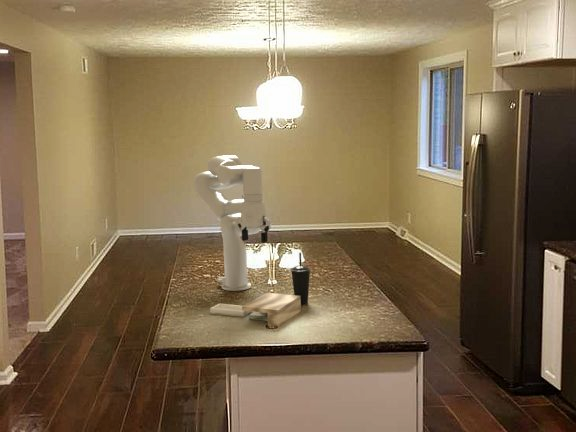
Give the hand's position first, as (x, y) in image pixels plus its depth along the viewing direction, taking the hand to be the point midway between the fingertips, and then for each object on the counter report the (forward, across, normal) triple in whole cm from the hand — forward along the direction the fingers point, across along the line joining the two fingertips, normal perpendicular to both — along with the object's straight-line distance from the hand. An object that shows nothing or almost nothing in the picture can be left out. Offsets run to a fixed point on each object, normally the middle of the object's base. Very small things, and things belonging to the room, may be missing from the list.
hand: (254, 241), depth 286 cm
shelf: (+23, +21, -19) cm, 37 cm away
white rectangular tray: (+23, +5, -22) cm, 32 cm away
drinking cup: (+23, +20, +2) cm, 31 cm away
